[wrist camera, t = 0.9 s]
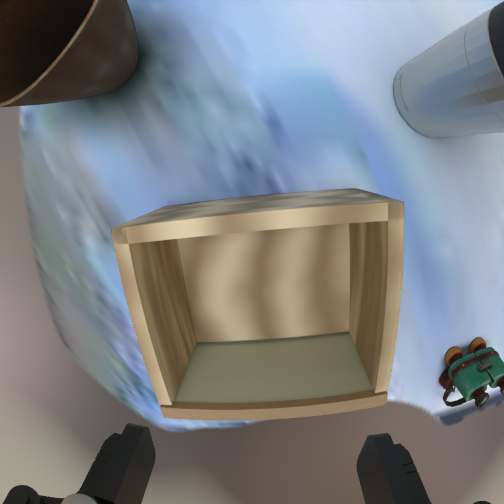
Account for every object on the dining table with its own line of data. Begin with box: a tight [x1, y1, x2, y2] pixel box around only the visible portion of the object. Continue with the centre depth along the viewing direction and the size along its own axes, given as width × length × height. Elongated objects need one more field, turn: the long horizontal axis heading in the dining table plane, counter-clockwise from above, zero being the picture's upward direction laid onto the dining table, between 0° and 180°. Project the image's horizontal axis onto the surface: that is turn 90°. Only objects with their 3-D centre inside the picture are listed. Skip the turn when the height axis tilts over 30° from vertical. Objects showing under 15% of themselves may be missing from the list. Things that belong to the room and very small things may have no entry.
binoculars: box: [440, 337, 504, 409], centre depth 30 cm, size 9×11×10 cm
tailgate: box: [160, 331, 388, 420], centre depth 29 cm, size 20×1×12 cm, turn 96°
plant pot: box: [0, 0, 139, 107], centre depth 20 cm, size 15×15×16 cm
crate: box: [111, 189, 404, 405], centre depth 27 cm, size 20×16×12 cm
